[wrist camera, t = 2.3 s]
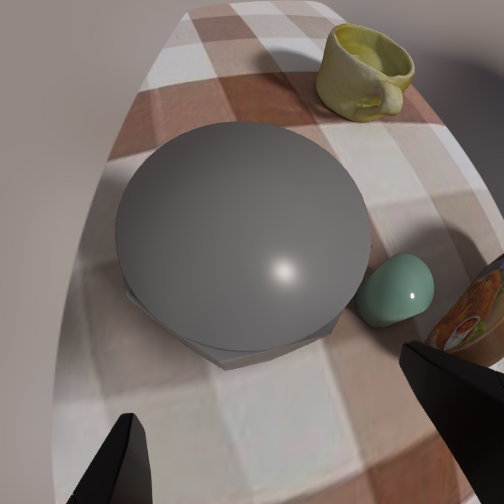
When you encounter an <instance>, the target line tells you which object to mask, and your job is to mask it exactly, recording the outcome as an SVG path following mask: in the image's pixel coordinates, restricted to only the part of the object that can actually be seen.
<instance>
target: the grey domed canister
mask: <svg viewBox="0 0 504 504" xmlns="http://www.w3.org/2000/svg"><path fill="white" fill-rule="evenodd" d="M115 239H116V247H117V254H118V258H119V262H120V265H121V269H122V271H123V273H124V279H125V289H126V298H128V299H129V300H130V301H131V302H132V303H133V304H135V305H136V306H137V307H138V308H139V309H141V310H142V311H143V312H144V313H145V314H147V315H148V316H149V317H150V318H152V319H153V320H154V321H155V322H157V323H158V324H159V325H160V326H162V327H163V328H164V329H165V330H167V331H168V332H169V333H170V334H172V335H173V336H174V337H176V338H177V339H178V340H180V341H181V342H182V343H183V344H185V345H186V346H188V347H189V348H191V349H192V350H194V351H195V352H197V353H198V354H200V355H201V356H203V357H204V358H206V359H208V360H209V361H211V362H212V363H214V364H215V365H217V366H219V367H220V368H222V369H223V370H225V371H227V370H231V369H236V368H240V367H245V366H249V365H253V364H258V363H262V362H266V361H270V360H273V359H275V358H278V357H280V356H282V355H285V354H287V353H289V352H292V351H294V350H296V349H299V348H301V347H303V346H305V345H308V344H310V343H312V342H314V341H316V340H318V339H321V338H323V337H325V336H327V335H329V334H331V333H332V331H333V329H334V327H335V325H336V323H337V321H338V319H339V317H340V315H341V313H342V311H343V309H344V308H345V307H346V305H347V304H348V303H349V301H350V300H351V299H352V297H353V296H354V295H355V293H356V291H357V289H358V287H359V286H360V284H361V282H362V280H363V277H364V274H365V271H366V269H367V266H368V261H369V256H370V250H371V248H372V245H371V229H370V220H369V216H368V212H367V208H366V205H365V202H364V200H363V197H362V195H361V193H360V191H359V189H358V187H357V185H356V183H355V182H354V180H353V179H352V177H351V176H350V175H349V173H348V172H347V170H346V169H345V168H344V167H343V166H342V165H341V164H340V163H339V162H338V161H337V160H336V159H335V158H334V157H333V156H332V155H331V154H330V153H329V152H327V151H326V150H325V149H323V148H322V147H321V146H319V145H318V144H316V143H315V142H313V141H311V140H309V139H308V138H306V137H304V136H302V135H300V134H297V133H295V132H293V131H290V130H287V129H284V128H281V127H278V126H274V125H269V124H264V123H257V122H223V123H217V124H212V125H207V126H203V127H200V128H197V129H193V130H191V131H189V132H186V133H184V134H181V135H179V136H178V137H176V138H174V139H172V140H170V141H169V142H167V143H166V144H164V145H163V146H161V147H160V148H159V149H157V150H156V151H155V152H154V153H153V154H152V155H150V156H149V157H148V158H147V159H146V160H145V161H144V163H143V164H142V165H141V166H140V167H139V168H138V169H137V171H136V172H135V174H134V175H133V177H132V178H131V180H130V181H129V183H128V185H127V187H126V189H125V191H124V193H123V196H122V199H121V202H120V205H119V208H118V213H117V219H116V233H115Z"/></svg>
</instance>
